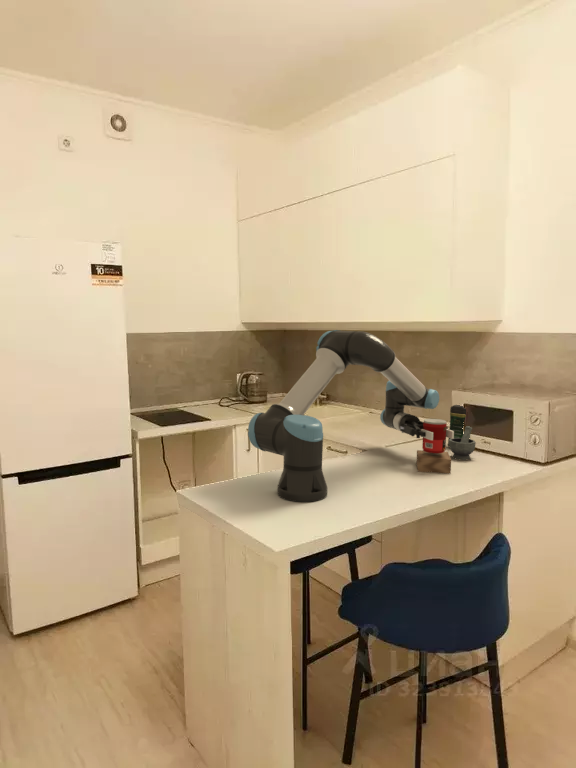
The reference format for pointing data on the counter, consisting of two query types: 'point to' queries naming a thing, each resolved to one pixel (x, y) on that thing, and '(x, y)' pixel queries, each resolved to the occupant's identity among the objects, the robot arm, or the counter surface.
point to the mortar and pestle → (462, 445)
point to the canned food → (435, 435)
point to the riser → (433, 462)
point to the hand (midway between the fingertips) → (442, 435)
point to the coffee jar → (457, 420)
